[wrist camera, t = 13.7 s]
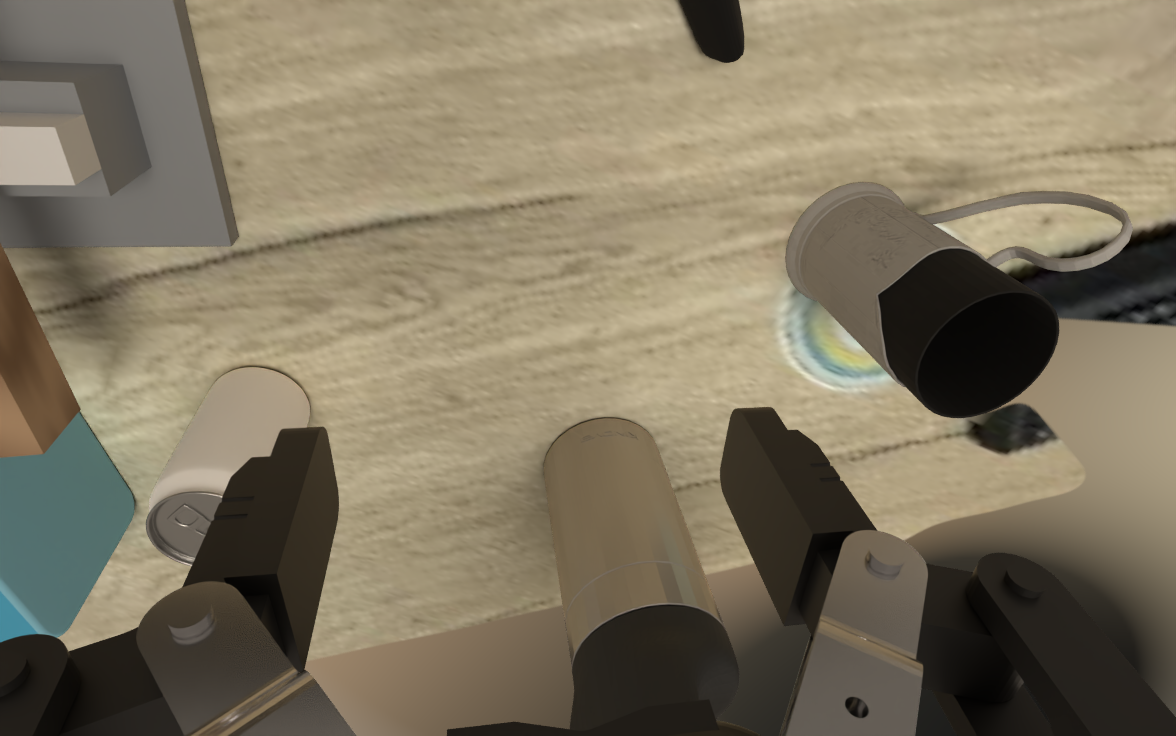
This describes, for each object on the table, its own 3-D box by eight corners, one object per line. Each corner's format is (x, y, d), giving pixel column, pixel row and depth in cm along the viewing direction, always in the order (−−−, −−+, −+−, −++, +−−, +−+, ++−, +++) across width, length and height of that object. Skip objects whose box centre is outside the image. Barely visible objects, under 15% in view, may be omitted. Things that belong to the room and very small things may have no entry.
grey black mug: (762, 240, 45) (875, 355, 33) (953, 95, 42) (1159, 161, 30) (821, 324, 50) (940, 454, 37) (998, 199, 46) (1194, 295, 34)
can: (269, 456, 49) (218, 590, 39) (188, 403, 45) (109, 534, 35) (332, 404, 47) (295, 530, 37) (251, 345, 44) (188, 466, 34)
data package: (-22, 380, 42) (-173, 517, 32) (53, 368, 43) (-74, 499, 33) (78, 517, 49) (-23, 666, 39) (142, 505, 49) (58, 650, 39)
